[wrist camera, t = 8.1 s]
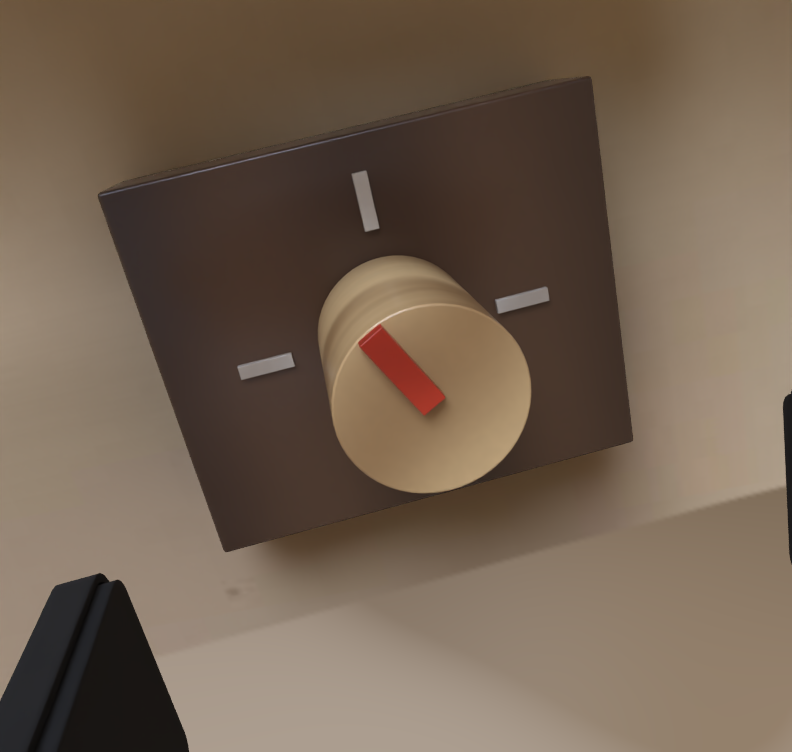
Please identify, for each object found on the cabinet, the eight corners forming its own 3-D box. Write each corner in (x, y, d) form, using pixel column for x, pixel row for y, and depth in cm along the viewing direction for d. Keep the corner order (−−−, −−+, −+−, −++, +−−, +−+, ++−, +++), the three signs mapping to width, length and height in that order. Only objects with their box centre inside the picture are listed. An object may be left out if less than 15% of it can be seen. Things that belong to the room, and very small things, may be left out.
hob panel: (230, 501, 24) (223, 557, 21) (120, 182, 20) (94, 194, 17) (593, 403, 24) (637, 444, 21) (549, 79, 21) (595, 74, 18)
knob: (501, 336, 20) (576, 411, 15) (387, 433, 20) (423, 538, 15) (404, 221, 18) (452, 262, 14) (284, 328, 19) (287, 405, 14)
